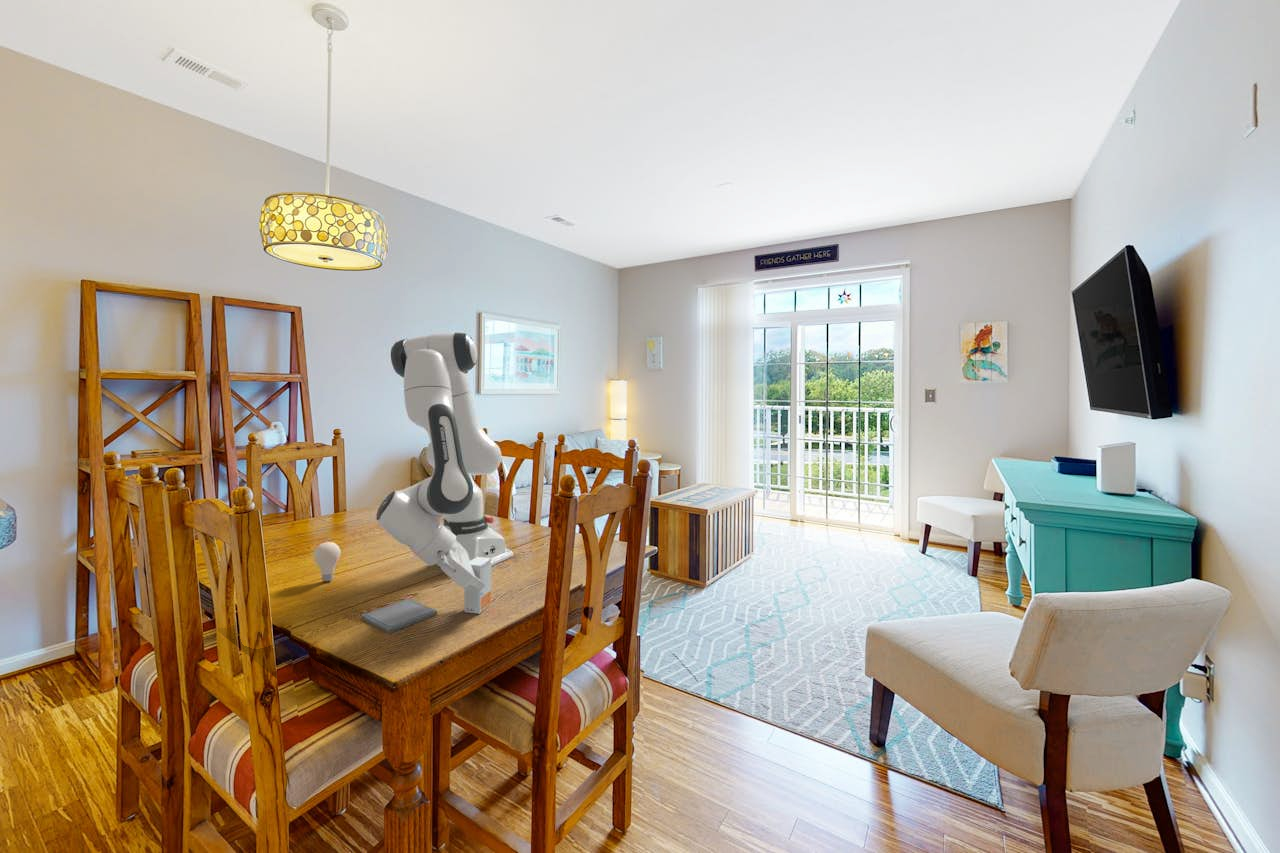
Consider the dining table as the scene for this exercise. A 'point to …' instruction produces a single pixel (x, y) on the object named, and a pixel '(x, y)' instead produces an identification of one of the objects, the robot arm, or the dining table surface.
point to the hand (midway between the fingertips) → (480, 580)
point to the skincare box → (472, 596)
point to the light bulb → (327, 559)
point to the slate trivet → (398, 615)
